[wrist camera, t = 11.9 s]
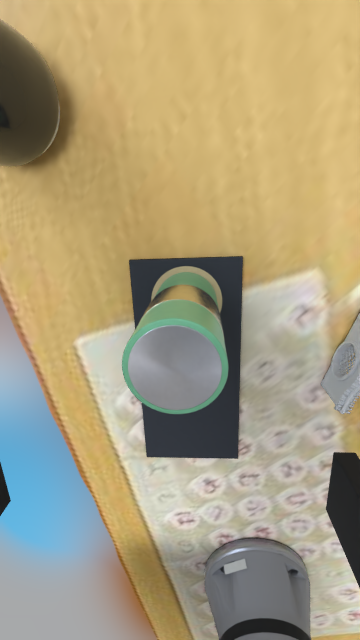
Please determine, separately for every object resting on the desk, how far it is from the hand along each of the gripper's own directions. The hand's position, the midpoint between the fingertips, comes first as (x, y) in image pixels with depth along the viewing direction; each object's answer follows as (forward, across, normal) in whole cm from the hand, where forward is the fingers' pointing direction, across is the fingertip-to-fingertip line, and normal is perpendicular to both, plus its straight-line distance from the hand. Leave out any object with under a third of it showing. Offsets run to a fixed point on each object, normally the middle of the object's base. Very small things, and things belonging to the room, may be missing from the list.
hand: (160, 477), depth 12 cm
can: (+15, 0, +2) cm, 16 cm away
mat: (+24, 0, +7) cm, 25 cm away
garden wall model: (+24, -18, +4) cm, 30 cm away
